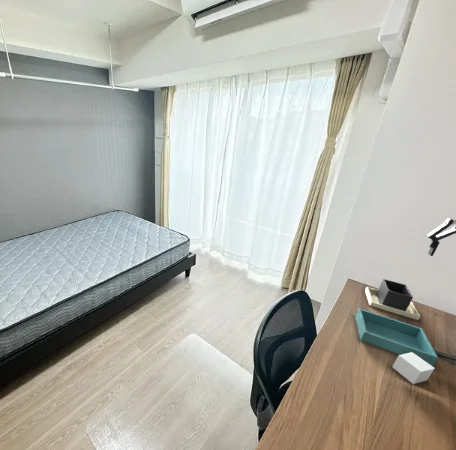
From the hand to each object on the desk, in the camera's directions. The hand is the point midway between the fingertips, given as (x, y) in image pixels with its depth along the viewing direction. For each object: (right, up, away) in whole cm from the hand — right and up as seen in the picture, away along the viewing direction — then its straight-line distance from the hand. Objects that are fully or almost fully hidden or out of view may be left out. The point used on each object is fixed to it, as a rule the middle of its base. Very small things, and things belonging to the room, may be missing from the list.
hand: (453, 259), depth 100 cm
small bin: (-14, -22, +12) cm, 29 cm away
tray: (-14, -23, +13) cm, 30 cm away
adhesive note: (-40, -35, -21) cm, 57 cm away
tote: (-33, -30, -7) cm, 45 cm away
